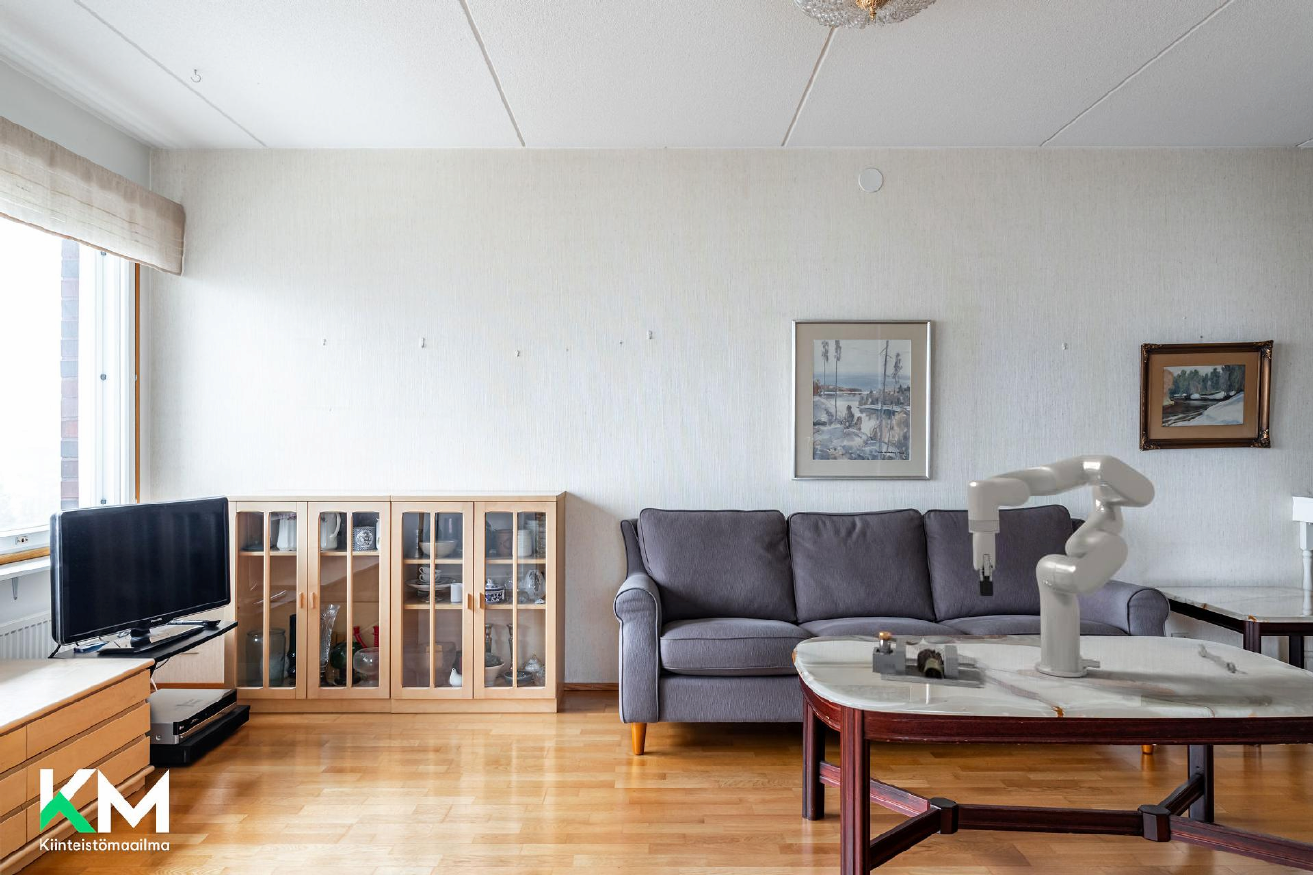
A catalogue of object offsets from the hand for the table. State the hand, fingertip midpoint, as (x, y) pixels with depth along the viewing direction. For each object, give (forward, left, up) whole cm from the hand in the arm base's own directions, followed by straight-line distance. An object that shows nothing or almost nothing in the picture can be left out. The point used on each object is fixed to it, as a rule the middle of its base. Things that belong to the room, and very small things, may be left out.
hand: (986, 595), depth 208 cm
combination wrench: (-62, -35, -22) cm, 75 cm away
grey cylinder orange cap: (+26, 0, -22) cm, 34 cm away
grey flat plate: (+15, 0, -22) cm, 26 cm away
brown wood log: (+14, +1, -22) cm, 26 cm away
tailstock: (+25, 0, -22) cm, 33 cm away
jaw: (+9, 0, -21) cm, 23 cm away
